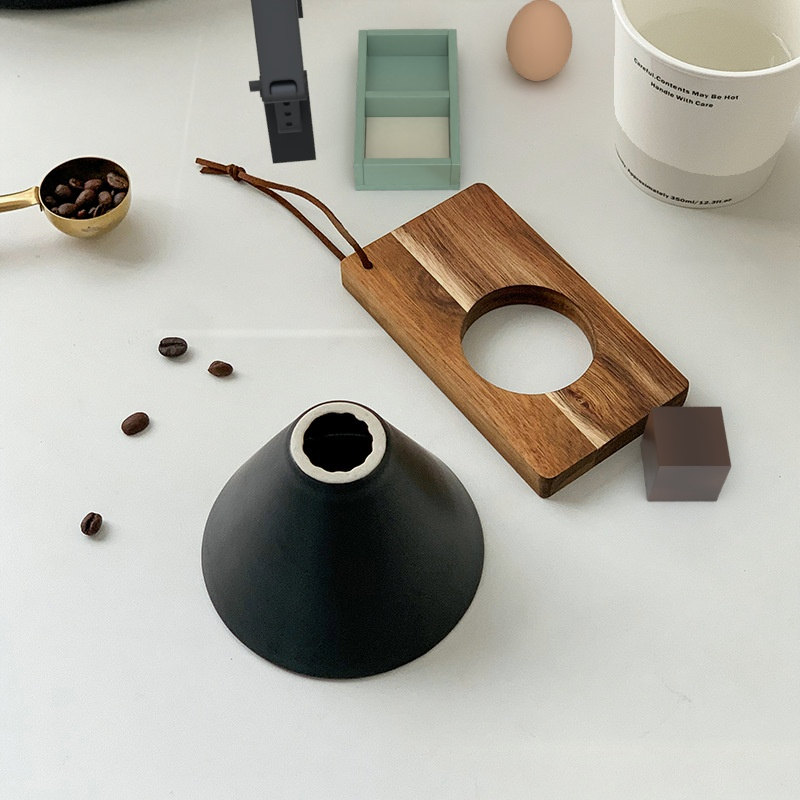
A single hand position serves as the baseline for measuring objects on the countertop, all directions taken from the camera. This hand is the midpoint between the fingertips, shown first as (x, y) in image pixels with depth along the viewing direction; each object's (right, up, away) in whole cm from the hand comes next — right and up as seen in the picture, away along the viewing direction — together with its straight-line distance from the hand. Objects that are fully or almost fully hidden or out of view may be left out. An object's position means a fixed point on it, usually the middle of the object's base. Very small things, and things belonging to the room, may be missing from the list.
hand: (288, 84), depth 78 cm
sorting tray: (+8, +5, +30) cm, 32 cm away
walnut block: (+28, -26, +10) cm, 39 cm away
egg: (+20, +10, +34) cm, 40 cm away
